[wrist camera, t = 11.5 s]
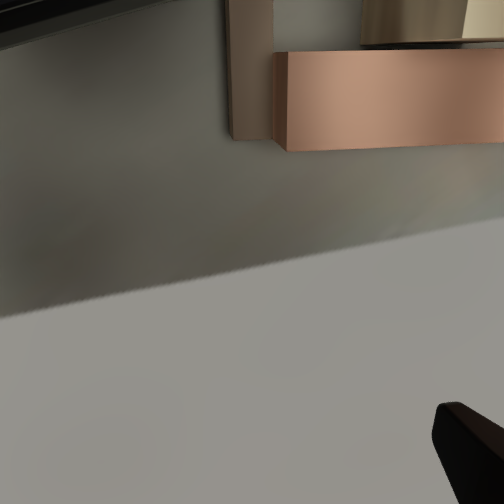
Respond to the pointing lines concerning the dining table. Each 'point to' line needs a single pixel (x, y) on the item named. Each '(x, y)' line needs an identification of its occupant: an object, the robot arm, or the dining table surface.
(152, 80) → the dining table surface
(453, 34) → the block
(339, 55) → the guide track
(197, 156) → the dining table surface
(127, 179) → the dining table surface
